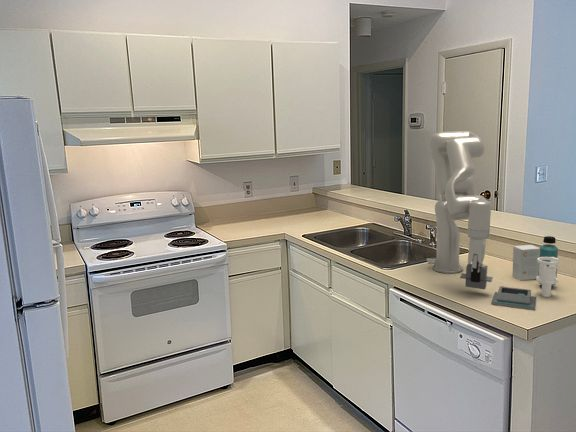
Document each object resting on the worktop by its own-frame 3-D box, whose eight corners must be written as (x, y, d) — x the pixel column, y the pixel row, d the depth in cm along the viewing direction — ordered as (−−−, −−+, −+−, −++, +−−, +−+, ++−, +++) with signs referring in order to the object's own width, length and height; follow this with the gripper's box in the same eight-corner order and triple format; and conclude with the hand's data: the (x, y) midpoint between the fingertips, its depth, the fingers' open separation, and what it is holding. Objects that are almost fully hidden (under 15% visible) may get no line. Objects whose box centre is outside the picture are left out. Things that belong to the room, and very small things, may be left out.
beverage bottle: (558, 286, 190) (561, 236, 186) (553, 291, 185) (557, 239, 181) (540, 282, 194) (543, 233, 190) (535, 287, 190) (537, 237, 186)
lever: (459, 286, 187) (460, 263, 185) (461, 282, 190) (462, 260, 188) (490, 290, 182) (492, 267, 180) (492, 286, 185) (493, 263, 183)
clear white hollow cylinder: (550, 300, 176) (553, 260, 174) (531, 295, 182) (533, 256, 179) (560, 295, 181) (563, 256, 178) (541, 290, 186) (543, 252, 183)
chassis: (491, 304, 175) (491, 292, 174) (494, 294, 185) (495, 282, 184) (534, 310, 169) (535, 297, 168) (536, 299, 178) (537, 287, 177)
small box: (530, 274, 205) (531, 244, 202) (539, 279, 199) (541, 248, 196) (511, 275, 204) (513, 245, 202) (520, 280, 198) (521, 249, 195)
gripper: (471, 226, 190) (469, 271, 194) (464, 238, 176) (461, 285, 180) (492, 228, 186) (489, 273, 191) (486, 240, 172) (483, 288, 177)
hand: (476, 279), depth 185 cm, fingers closed on lever, 4 cm apart
